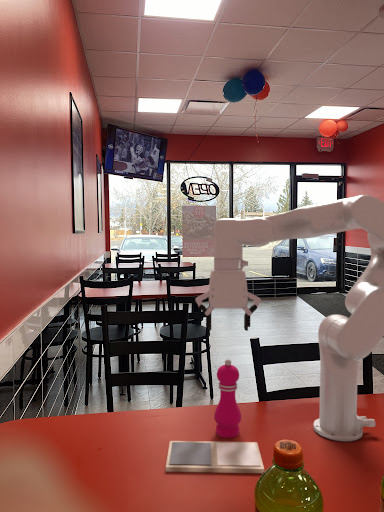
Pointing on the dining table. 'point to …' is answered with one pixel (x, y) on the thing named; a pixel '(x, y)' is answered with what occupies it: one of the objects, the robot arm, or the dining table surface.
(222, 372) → the pepper mill
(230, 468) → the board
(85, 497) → the dining table surface
